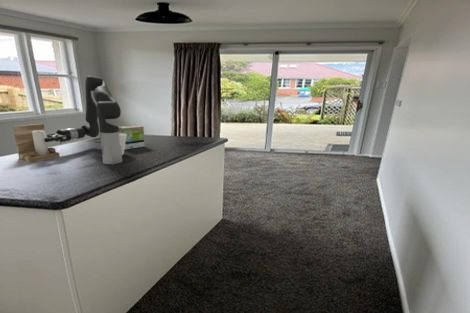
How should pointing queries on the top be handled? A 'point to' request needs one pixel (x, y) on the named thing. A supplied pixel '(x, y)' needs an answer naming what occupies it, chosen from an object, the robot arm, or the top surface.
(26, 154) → the holder
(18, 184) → the top surface
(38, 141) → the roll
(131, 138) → the tea box
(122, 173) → the top surface
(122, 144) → the cup
